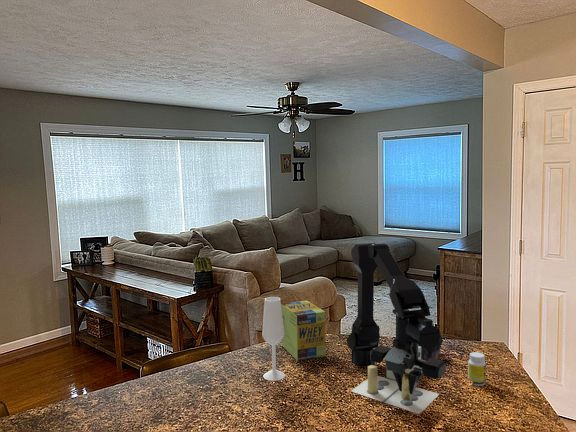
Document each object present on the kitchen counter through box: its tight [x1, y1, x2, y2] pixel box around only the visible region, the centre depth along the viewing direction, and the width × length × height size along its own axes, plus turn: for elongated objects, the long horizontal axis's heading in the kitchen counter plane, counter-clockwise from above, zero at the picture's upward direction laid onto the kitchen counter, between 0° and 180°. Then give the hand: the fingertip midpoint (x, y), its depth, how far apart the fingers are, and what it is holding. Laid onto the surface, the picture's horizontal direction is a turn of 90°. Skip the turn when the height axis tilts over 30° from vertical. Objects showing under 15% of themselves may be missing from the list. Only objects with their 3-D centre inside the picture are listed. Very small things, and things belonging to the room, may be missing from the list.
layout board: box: [350, 365, 440, 415], centre depth 126 cm, size 20×13×8 cm, turn 51°
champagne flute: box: [261, 296, 286, 382], centre depth 140 cm, size 7×7×24 cm
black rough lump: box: [418, 334, 444, 361], centre depth 154 cm, size 13×14×10 cm
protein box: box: [281, 300, 326, 362], centre depth 160 cm, size 10×15×16 cm
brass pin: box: [401, 370, 412, 401], centre depth 121 cm, size 3×3×7 cm
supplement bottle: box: [467, 351, 487, 387], centre depth 134 cm, size 5×5×8 cm
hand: (406, 392), depth 121 cm, fingers closed on brass pin, 2 cm apart
